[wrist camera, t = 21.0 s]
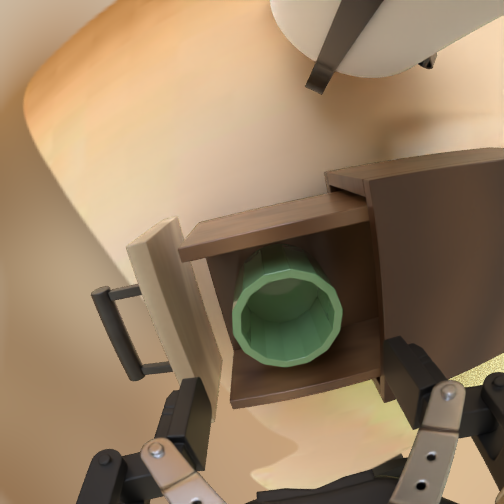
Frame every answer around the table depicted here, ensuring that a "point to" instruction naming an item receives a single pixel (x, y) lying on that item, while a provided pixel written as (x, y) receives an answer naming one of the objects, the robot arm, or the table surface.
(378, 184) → the cabinet
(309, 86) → the coffee press
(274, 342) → the pot
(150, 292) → the drawer
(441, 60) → the table surface
